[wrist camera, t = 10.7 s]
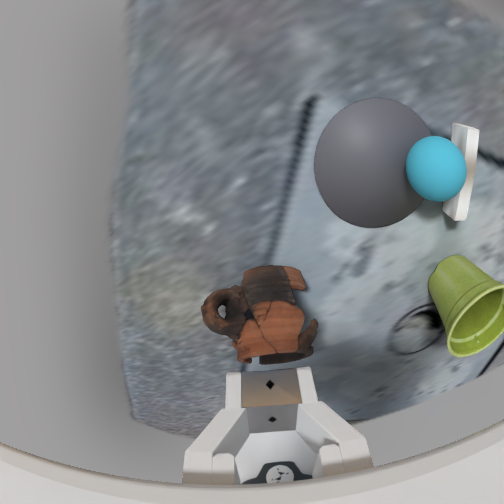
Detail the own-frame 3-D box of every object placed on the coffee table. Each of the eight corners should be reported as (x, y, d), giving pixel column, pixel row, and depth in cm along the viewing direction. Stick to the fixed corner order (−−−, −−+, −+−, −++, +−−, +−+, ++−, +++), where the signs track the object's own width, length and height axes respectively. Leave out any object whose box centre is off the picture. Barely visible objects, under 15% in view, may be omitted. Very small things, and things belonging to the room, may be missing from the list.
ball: (448, 194, 26) (467, 216, 21) (396, 184, 27) (407, 205, 22) (458, 139, 23) (482, 151, 18) (404, 126, 24) (418, 135, 20)
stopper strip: (452, 210, 28) (465, 220, 25) (442, 210, 28) (454, 220, 25) (463, 124, 23) (479, 129, 21) (452, 122, 23) (467, 128, 21)
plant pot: (419, 318, 35) (447, 369, 28) (409, 262, 31) (447, 314, 23) (477, 288, 33) (511, 331, 26) (476, 228, 29) (521, 270, 21)
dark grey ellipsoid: (426, 224, 28) (427, 224, 28) (313, 229, 29) (313, 230, 28) (438, 105, 22) (440, 105, 22) (312, 95, 23) (313, 95, 22)
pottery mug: (329, 268, 31) (342, 348, 27) (280, 301, 39) (287, 367, 35) (216, 247, 26) (218, 345, 22) (185, 289, 34) (184, 364, 30)
